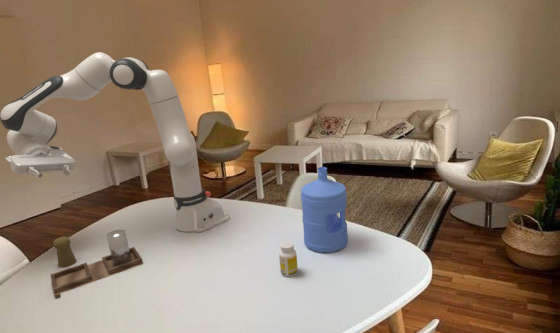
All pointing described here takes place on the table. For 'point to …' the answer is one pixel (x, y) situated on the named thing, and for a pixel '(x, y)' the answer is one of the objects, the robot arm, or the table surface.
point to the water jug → (324, 214)
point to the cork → (64, 252)
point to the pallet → (90, 272)
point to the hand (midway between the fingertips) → (54, 174)
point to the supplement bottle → (288, 259)
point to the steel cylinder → (119, 247)
